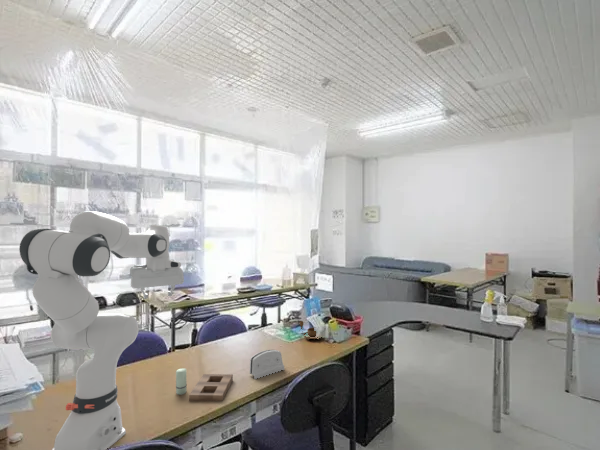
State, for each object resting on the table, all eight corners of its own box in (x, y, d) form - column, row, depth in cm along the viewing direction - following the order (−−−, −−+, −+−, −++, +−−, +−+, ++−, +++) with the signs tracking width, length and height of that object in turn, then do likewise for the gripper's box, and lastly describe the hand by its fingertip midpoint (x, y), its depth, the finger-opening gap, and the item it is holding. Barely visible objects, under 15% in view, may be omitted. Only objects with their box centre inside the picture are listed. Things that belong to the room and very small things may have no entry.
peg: (184, 395, 135) (184, 372, 135) (174, 394, 135) (174, 372, 135) (188, 389, 139) (188, 368, 139) (178, 389, 139) (178, 368, 139)
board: (222, 401, 130) (222, 395, 130) (189, 401, 130) (189, 395, 130) (232, 380, 148) (232, 374, 148) (203, 379, 148) (203, 374, 148)
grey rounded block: (254, 379, 148) (253, 356, 149) (249, 376, 152) (247, 354, 153) (285, 369, 158) (283, 348, 159) (279, 367, 162) (278, 346, 163)
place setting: (298, 340, 199) (298, 330, 199) (298, 330, 219) (298, 321, 219) (327, 340, 199) (327, 330, 199) (325, 329, 219) (325, 320, 219)
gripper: (130, 266, 130) (130, 301, 130) (184, 262, 141) (184, 295, 141) (129, 264, 135) (129, 298, 135) (181, 261, 146) (181, 293, 146)
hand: (158, 297), depth 138 cm, fingers open, 8 cm apart
